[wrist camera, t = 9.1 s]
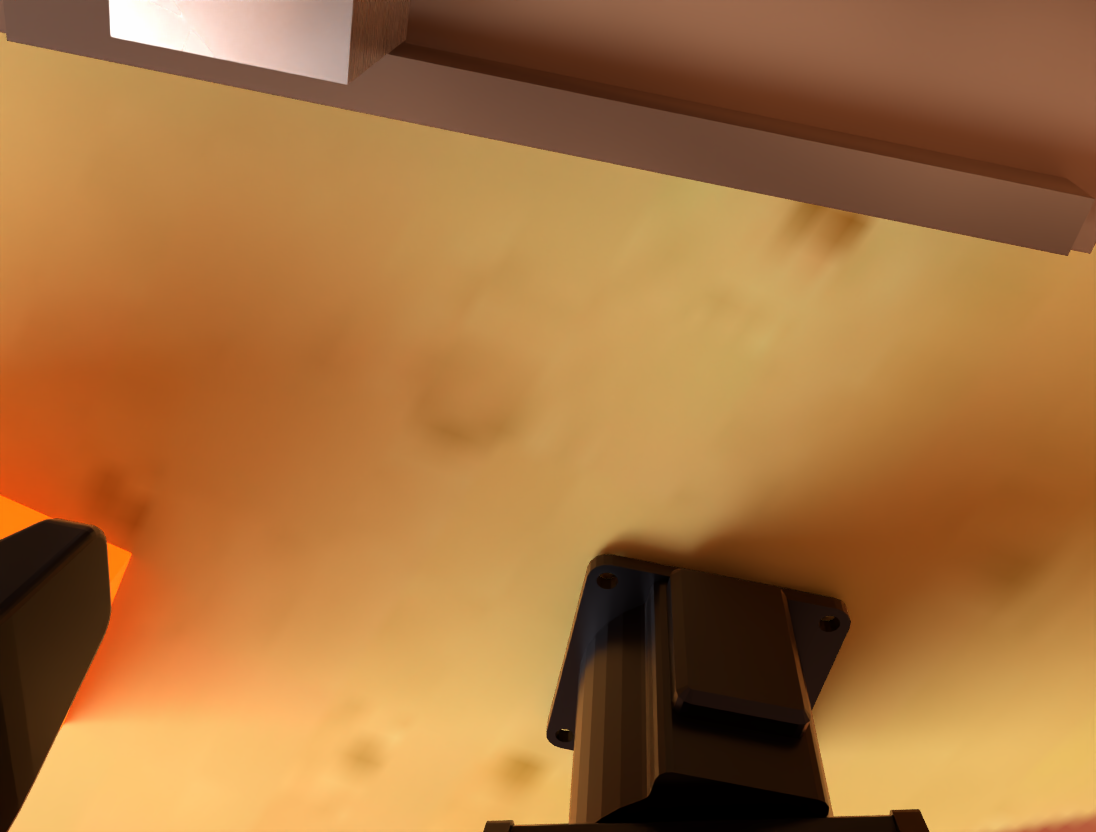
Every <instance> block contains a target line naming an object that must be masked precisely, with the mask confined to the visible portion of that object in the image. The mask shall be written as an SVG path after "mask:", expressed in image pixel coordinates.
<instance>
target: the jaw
mask: <svg viewBox="0 0 1096 832" xmlns="http://www.w3.org/2000/svg"><path fill="white" fill-rule="evenodd" d="M409 6H410V0H109V12H110V32H111V37H115V38H120V39H125V40H130V41H135V42H140V43H144V44H149V45H154V46H159V47H164V48H169V49H174V50H179V51H184V52H189V53H194V54H198V55H203V56H208V57H213V58H218V59H223V60H228V61H233V62H238V63H243V64H248V65H252V66H257V67H262V68H267V69H272V70H277V71H282V72H287V73H292V74H297V75H302V76H307V77H311V78H316V79H321V80H326V81H331V82H336V83H341V84H346V85H348V84H349V83H350V82H351V81H353V80H354V79H355V78H357V77H358V76H359V75H361V74H362V73H363V72H364V71H366V70H367V69H368V68H370V67H371V66H372V65H374V64H375V63H376V62H378V61H379V60H380V59H381V58H383V57H384V56H385V55H387V54H388V53H389V52H391V51H392V50H393V49H394V48H396V47H397V46H398V45H400V44H401V43H402V42H404V41H405V40H406V36H407V26H408V16H409Z"/></svg>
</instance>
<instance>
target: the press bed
mask: <svg viewBox="0 0 1096 832" xmlns="http://www.w3.org/2000/svg"><path fill="white" fill-rule="evenodd" d="M0 32H2V33H6V35H7V41H11V42H16V43H21V44H26V45H31V46H36V47H41V48H46V49H51V50H56V51H61V52H66V53H71V54H75V55H80V56H85V57H90V58H95V59H100V60H105V61H110V62H115V63H120V64H125V65H130V66H135V67H140V68H144V69H149V70H154V71H159V72H164V73H169V74H174V75H179V76H184V77H189V78H194V79H199V80H204V81H208V82H213V83H218V84H223V85H228V86H233V87H238V88H243V89H248V90H253V91H258V92H263V93H268V94H272V95H277V96H282V97H287V98H292V99H297V100H302V101H307V102H312V103H317V104H322V105H327V106H332V107H336V108H341V109H346V110H351V111H356V112H361V113H366V114H371V115H376V116H381V117H386V118H391V119H396V120H400V121H405V122H410V123H415V124H420V125H425V126H430V127H435V128H440V129H445V130H450V131H455V132H460V133H465V134H469V135H474V136H479V137H484V138H489V139H494V140H499V141H504V142H509V143H514V144H519V145H524V146H529V147H533V148H538V149H543V150H548V151H553V152H558V153H563V154H568V155H573V156H578V157H583V158H588V159H593V160H597V161H602V162H607V163H612V164H617V165H622V166H627V167H632V168H637V169H642V170H647V171H652V172H657V173H661V174H666V175H671V176H676V177H681V178H686V179H691V180H696V181H701V182H706V183H711V184H716V185H721V186H726V187H730V188H735V189H740V190H745V191H750V192H755V193H760V194H765V195H770V196H775V197H780V198H785V199H790V200H794V201H799V202H804V203H809V204H814V205H819V206H824V207H829V208H834V209H839V210H844V211H849V212H854V213H858V214H863V215H868V216H873V217H878V218H883V219H888V220H893V221H898V222H903V223H908V224H913V225H918V226H922V227H927V228H932V229H937V230H942V231H947V232H952V233H957V234H962V235H967V236H972V237H977V238H982V239H987V240H991V241H996V242H1001V243H1006V244H1011V245H1016V246H1021V247H1026V248H1031V249H1036V250H1041V251H1046V252H1051V253H1055V254H1060V255H1065V256H1068V254H1069V252H1070V250H1075V251H1080V252H1085V253H1089V254H1090V253H1091V251H1092V249H1093V247H1094V245H1095V243H1096V0H410V6H409V16H408V26H407V36H406V40H405V41H404V42H402V43H401V44H400V45H398V46H397V47H396V48H394V49H393V50H392V51H391V52H389V53H388V54H387V55H385V56H384V57H383V58H381V59H380V60H379V61H378V62H376V63H375V64H374V65H372V66H371V67H370V68H368V69H367V70H366V71H364V72H363V73H362V74H361V75H359V76H358V77H357V78H355V79H354V80H353V81H351V82H350V83H349V84H348V85H346V84H341V83H336V82H331V81H326V80H321V79H316V78H311V77H307V76H302V75H297V74H292V73H287V72H282V71H277V70H272V69H267V68H262V67H257V66H252V65H248V64H243V63H238V62H233V61H228V60H223V59H218V58H213V57H208V56H203V55H198V54H194V53H189V52H184V51H179V50H174V49H169V48H164V47H159V46H154V45H149V44H144V43H140V42H135V41H130V40H125V39H120V38H115V37H111V32H110V12H109V0H0Z"/></svg>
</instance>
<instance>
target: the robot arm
mask: <svg viewBox="0 0 1096 832" xmlns="http://www.w3.org/2000/svg"><path fill="white" fill-rule="evenodd" d="M603 573H611V574H613V575H615V577H613V578H611V579H605V578H603V577H601V576H600V575H601V574H603ZM110 615H111V590H110V576H109V561H108V547H107V540H106V537H105V535H104V532H103V531H102V530H101V529H99V528H98V527H96V526H93V525H88V524H83V523H78V522H73V521H68V520H62V519H52V518H50V519H45V520H42V521H39V522H37V523H35V524H33V525H30V526H28V527H26V528H24V529H22V530H20V531H17V532H15V533H13V534H11V535H9V536H7V537H4V538H2V539H0V832H8V831H9V829H10V827H11V826H12V824H13V822H14V820H15V819H16V817H17V815H18V813H19V812H20V810H21V808H22V806H23V804H24V802H25V800H26V798H27V796H28V794H29V792H30V790H31V788H32V786H33V784H34V782H35V780H36V778H37V776H38V774H39V772H40V770H41V768H42V766H43V763H44V761H45V759H46V757H47V755H48V753H49V751H50V749H51V747H52V745H53V743H54V740H55V738H56V736H57V734H58V732H59V730H60V728H61V726H62V724H63V722H64V720H65V717H66V715H67V713H68V711H69V709H70V707H71V705H72V703H73V701H74V699H75V696H76V694H77V692H78V690H79V688H80V686H81V684H82V682H83V680H84V678H85V676H86V673H87V671H88V669H89V667H90V665H91V663H92V661H93V659H94V657H95V655H96V652H97V650H98V648H99V646H100V644H101V642H102V640H103V638H104V635H105V633H106V630H107V627H108V624H109V620H110ZM826 616H834V617H835V618H834V619H831V620H829V621H823V620H821V619H822V618H824V617H826ZM850 623H851V621H850V618H849V614H848V611H847V608H846V605H845V604H844V603H843V602H842V601H841V600H838V599H836V598H833V597H828V596H822V595H817V594H812V593H807V592H802V591H797V590H791V589H786V588H781V587H777V586H772V585H767V584H762V583H757V582H752V581H747V580H741V579H736V578H731V577H726V576H721V575H716V574H710V573H705V572H700V571H695V570H690V569H685V568H678V567H673V566H667V565H662V564H657V563H652V562H647V561H642V560H636V559H631V558H626V557H621V556H616V555H605V554H604V555H600V556H597V557H595V558H594V559H593V560H591V561H590V563H589V565H588V567H587V571H586V575H585V579H584V583H583V586H582V590H581V594H580V598H579V602H578V606H577V610H576V613H575V617H574V621H573V625H572V629H571V633H570V637H569V640H568V644H567V648H566V652H565V656H564V660H563V664H562V667H561V671H560V675H559V679H558V683H557V687H556V691H555V694H554V698H553V702H552V706H551V710H550V714H549V718H548V722H547V739H548V740H549V742H550V743H552V744H553V745H554V746H557V747H560V748H564V749H569V750H574V754H573V768H572V783H571V798H570V812H569V824H535V825H514V822H513V820H507V821H487V823H486V825H485V828H484V831H483V832H929V830H928V828H927V825H926V823H925V821H924V819H923V816H922V814H921V812H920V810H919V809H912V810H890V815H876V816H838V817H834V816H833V812H832V807H831V802H830V797H829V792H828V788H827V783H826V778H825V773H824V768H823V764H822V759H821V754H820V749H819V745H818V740H817V735H816V730H815V725H814V721H813V716H812V709H813V706H814V704H815V702H816V700H817V698H818V696H819V693H820V691H821V689H822V687H823V685H824V682H825V680H826V678H827V676H828V674H829V672H830V669H831V667H832V665H833V663H834V661H835V658H836V656H837V654H838V652H839V650H840V648H841V645H842V643H843V641H844V639H845V637H846V634H847V632H848V630H849V628H850ZM561 729H568V730H569V731H564V730H561Z"/></svg>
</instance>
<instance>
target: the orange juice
mask: <svg viewBox="0 0 1096 832" xmlns="http://www.w3.org/2000/svg"><path fill="white" fill-rule="evenodd" d="M50 518H51V517H49V516H46V515H44V514H42V513H40V512H37V511H35V510H33V509H31V508H28V507H26V506H24V505H21V504H19V503H17V502H15V501H12V500H10V499H8V498H6V497H3V496H1V495H0V539H2V538H4V537H7V536H9V535H11V534H13V533H15V532H17V531H20V530H22V529H24V528H26V527H28V526H30V525H33V524H35V523H37V522H39V521H42V520H45V519H50ZM52 519H53V518H52ZM107 547H108V561H109V576H110V590H111V605H112V602H113V600H114V597H115V595H116V592H117V590H118V587H119V585H120V582H121V580H122V577H123V575H124V572H125V570H126V567H127V565H128V562H129V560H130V557H131V555H132V553H130V552H128V551H125V550H123V549H121V548H119V547H116V546H114V545H112V544H110V543H107ZM69 710H70V709H69ZM68 712H69V711H68ZM67 715H68V713H67ZM67 715H66V717H67ZM66 717H65V720H66ZM65 720H64V722H65ZM64 722H63V724H62V726H63V725H64ZM62 726H61V728H62ZM61 728H60V729H61ZM59 731H60V730H59Z"/></svg>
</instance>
